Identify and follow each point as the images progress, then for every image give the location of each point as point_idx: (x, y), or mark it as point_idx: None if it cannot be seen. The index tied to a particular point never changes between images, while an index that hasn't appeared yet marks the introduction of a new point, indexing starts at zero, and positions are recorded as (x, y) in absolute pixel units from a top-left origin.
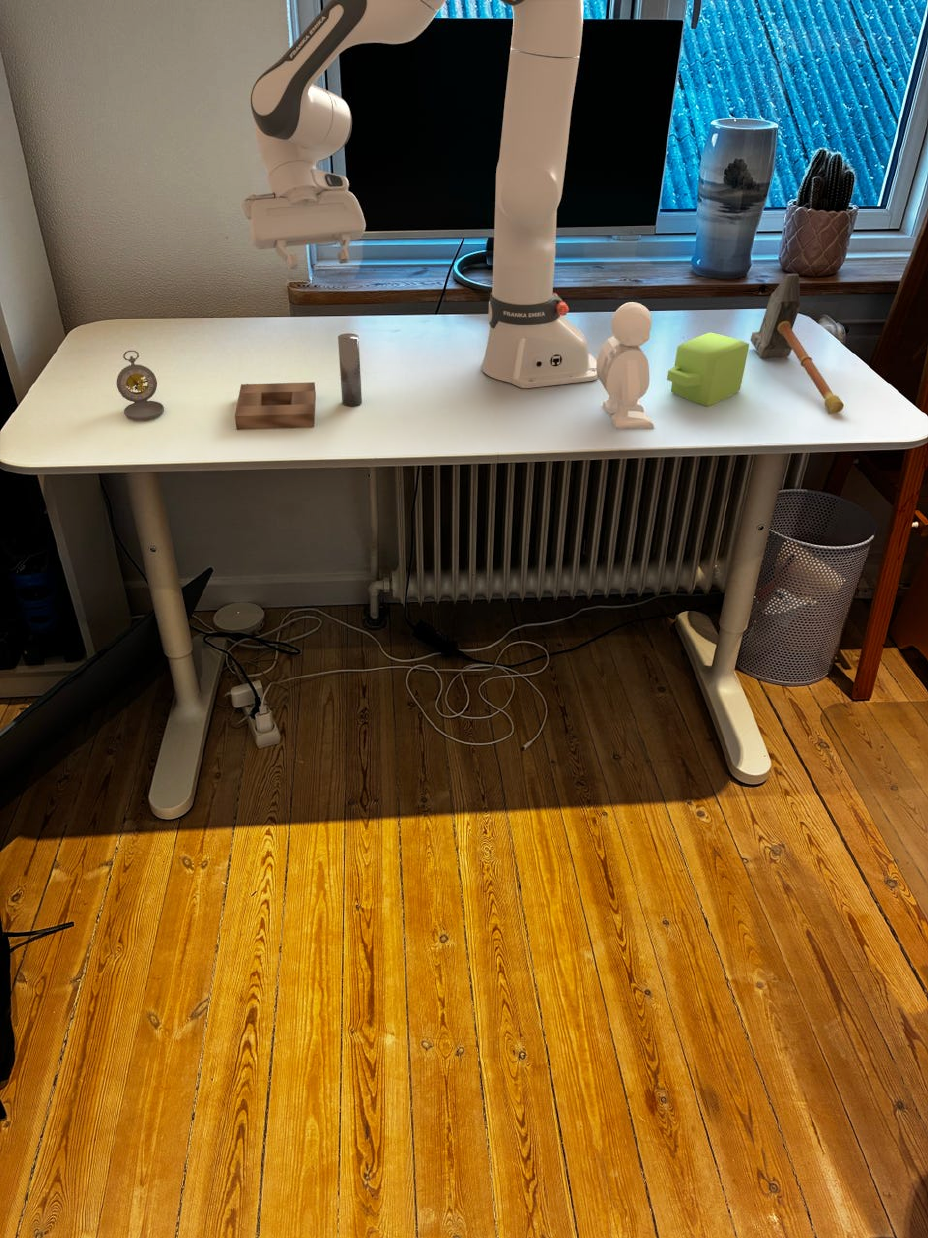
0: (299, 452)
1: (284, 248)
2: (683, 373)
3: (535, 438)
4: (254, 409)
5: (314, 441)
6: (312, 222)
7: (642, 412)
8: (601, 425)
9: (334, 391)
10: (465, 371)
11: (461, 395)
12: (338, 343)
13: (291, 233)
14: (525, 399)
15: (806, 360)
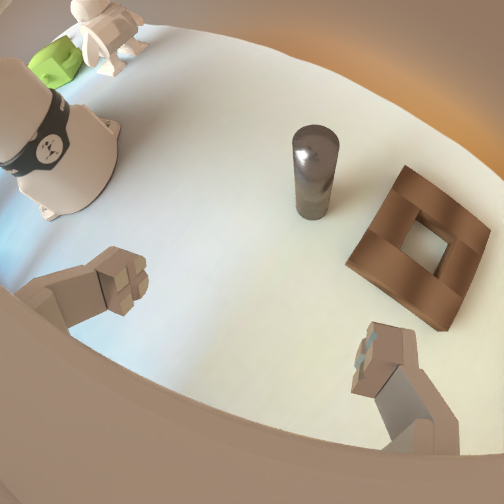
0: (436, 139)
1: (428, 403)
2: (72, 53)
3: (207, 48)
4: (466, 230)
5: (413, 146)
6: (95, 459)
7: (121, 47)
8: (149, 51)
9: (310, 258)
10: (117, 198)
11: (177, 141)
12: (336, 158)
13: (368, 467)
14: (141, 105)
15: (27, 65)
